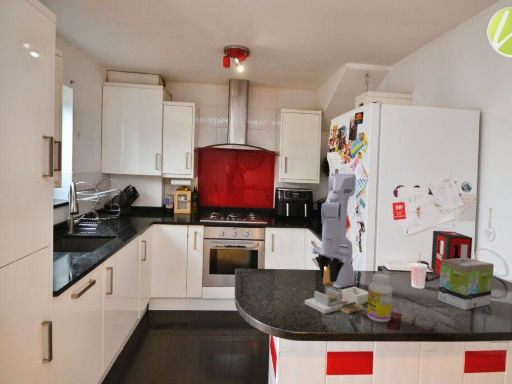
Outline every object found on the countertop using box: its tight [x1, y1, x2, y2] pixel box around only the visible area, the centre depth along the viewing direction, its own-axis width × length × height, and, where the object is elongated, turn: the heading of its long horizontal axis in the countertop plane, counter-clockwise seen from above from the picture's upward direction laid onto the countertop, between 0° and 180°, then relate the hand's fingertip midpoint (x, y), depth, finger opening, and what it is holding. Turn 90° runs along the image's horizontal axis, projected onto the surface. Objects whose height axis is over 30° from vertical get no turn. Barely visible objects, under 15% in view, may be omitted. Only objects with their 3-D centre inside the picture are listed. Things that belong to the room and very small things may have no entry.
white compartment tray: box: [304, 287, 350, 314], centre depth 105 cm, size 12×9×4 cm
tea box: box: [437, 258, 495, 311], centre depth 112 cm, size 15×10×15 cm, turn 117°
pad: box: [324, 292, 337, 302], centre depth 105 cm, size 4×4×1 cm
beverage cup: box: [410, 251, 428, 289], centre depth 128 cm, size 6×6×14 cm
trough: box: [339, 302, 364, 315], centre depth 102 cm, size 7×3×2 cm, turn 123°
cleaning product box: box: [430, 230, 473, 279], centre depth 142 cm, size 16×9×20 cm, turn 172°
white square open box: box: [341, 286, 368, 306], centre depth 110 cm, size 7×7×3 cm
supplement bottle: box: [366, 273, 393, 323], centre depth 96 cm, size 7×7×13 cm
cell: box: [322, 265, 334, 287], centre depth 104 cm, size 3×3×6 cm
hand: (328, 279), depth 104 cm, fingers closed on cell, 3 cm apart
